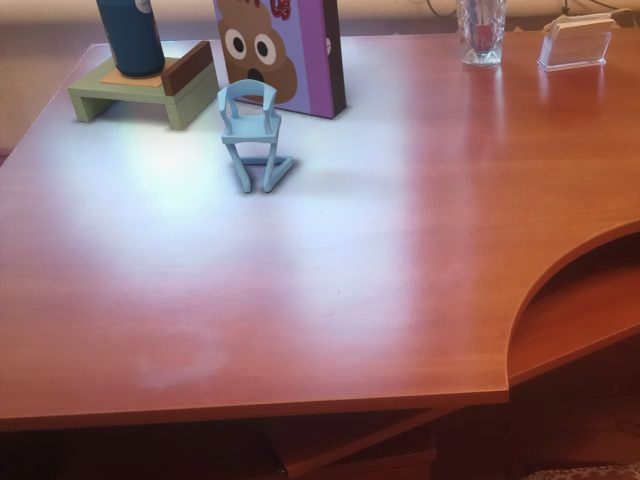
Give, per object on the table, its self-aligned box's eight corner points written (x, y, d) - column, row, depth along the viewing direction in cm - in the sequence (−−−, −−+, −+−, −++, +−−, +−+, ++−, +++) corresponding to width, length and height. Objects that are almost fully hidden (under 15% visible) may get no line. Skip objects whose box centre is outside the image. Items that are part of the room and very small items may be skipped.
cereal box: (232, 100, 113) (198, -75, 97) (249, 88, 116) (219, -82, 100) (331, 119, 109) (312, -60, 93) (346, 107, 112) (330, -68, 96)
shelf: (78, 121, 106) (59, 66, 101) (125, 84, 117) (110, 32, 111) (182, 130, 105) (168, 75, 99) (220, 92, 115) (209, 40, 110)
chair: (226, 193, 92) (205, 101, 84) (236, 162, 98) (218, 73, 90) (287, 192, 92) (273, 100, 84) (294, 161, 98) (281, 73, 90)
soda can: (177, 69, 108) (156, -18, 100) (140, 84, 104) (115, -5, 96) (145, 59, 111) (122, -26, 103) (107, 74, 106) (80, -14, 98)
